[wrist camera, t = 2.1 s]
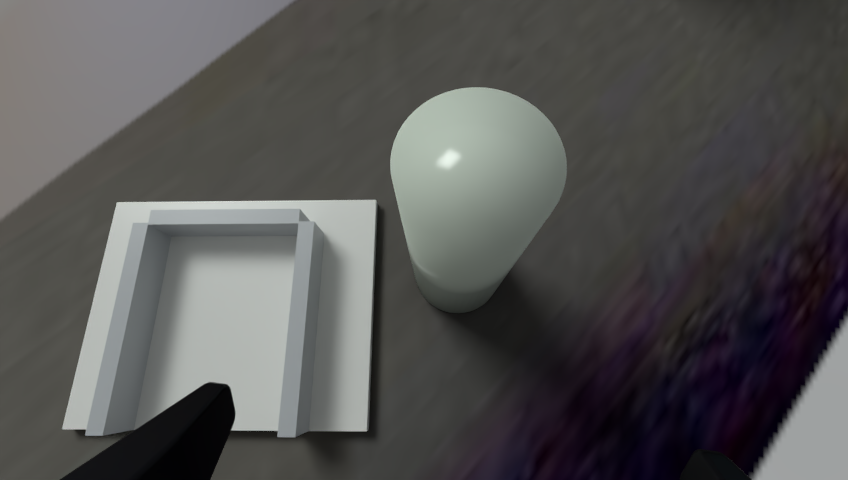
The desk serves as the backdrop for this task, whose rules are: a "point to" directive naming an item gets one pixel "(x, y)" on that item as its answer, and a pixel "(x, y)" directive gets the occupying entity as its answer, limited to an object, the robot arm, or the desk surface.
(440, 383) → the desk surface
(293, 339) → the white railed tray
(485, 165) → the domed peg
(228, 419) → the robot arm
